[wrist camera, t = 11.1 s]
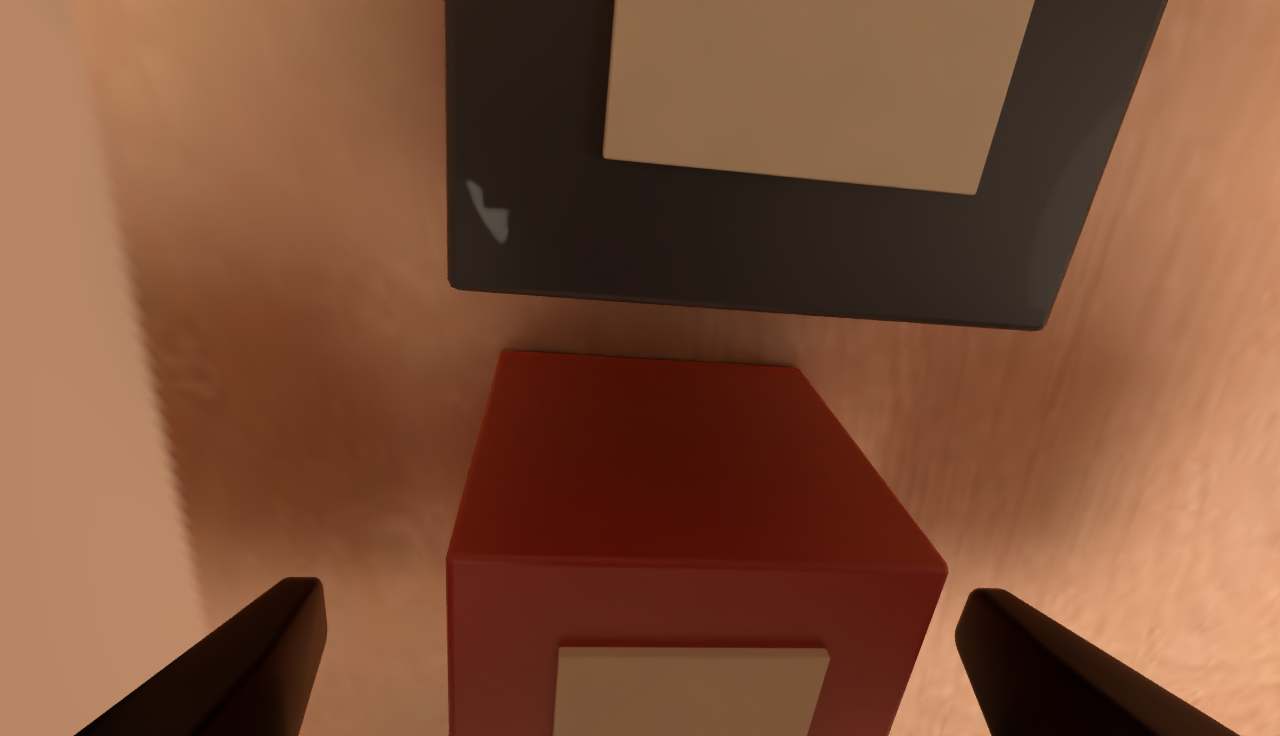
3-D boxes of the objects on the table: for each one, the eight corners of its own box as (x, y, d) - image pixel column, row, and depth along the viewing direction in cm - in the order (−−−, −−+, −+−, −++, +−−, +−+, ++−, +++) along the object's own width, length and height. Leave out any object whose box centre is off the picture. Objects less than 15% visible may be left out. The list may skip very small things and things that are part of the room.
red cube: (749, 594, 13) (846, 880, 8) (495, 590, 13) (448, 896, 8) (799, 366, 11) (962, 576, 6) (500, 348, 11) (440, 566, 6)
